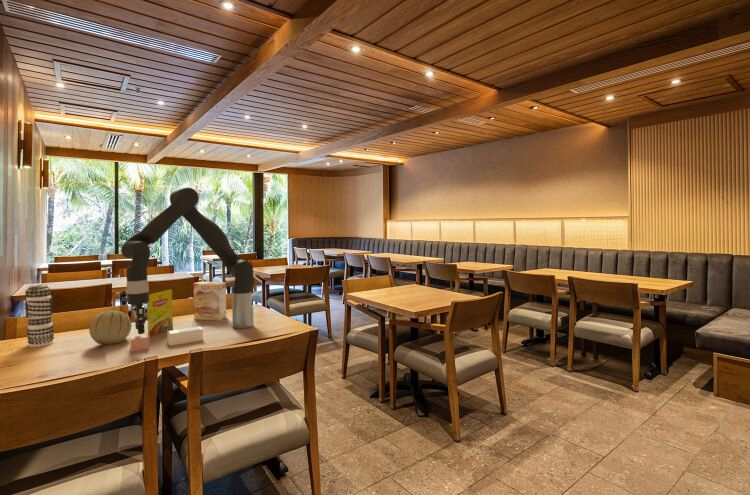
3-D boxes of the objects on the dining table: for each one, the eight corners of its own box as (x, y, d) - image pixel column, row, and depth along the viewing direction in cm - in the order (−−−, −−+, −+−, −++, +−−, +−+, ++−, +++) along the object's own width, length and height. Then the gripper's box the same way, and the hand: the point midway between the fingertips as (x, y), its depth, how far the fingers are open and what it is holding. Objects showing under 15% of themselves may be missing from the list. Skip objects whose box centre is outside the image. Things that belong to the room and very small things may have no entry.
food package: (149, 340, 170) (147, 295, 169) (147, 339, 171) (145, 295, 169) (173, 330, 185) (172, 289, 184) (171, 330, 186) (170, 289, 184)
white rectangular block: (200, 337, 171) (200, 326, 171) (203, 340, 167) (202, 328, 167) (167, 342, 163) (167, 330, 163) (169, 345, 159) (169, 333, 159)
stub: (147, 345, 159) (147, 333, 159) (149, 348, 155) (148, 336, 155) (130, 348, 156) (130, 336, 155) (131, 351, 152) (131, 339, 151)
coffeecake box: (193, 319, 206) (192, 283, 204) (201, 316, 213) (200, 281, 211) (219, 320, 203) (218, 284, 202) (226, 317, 210) (226, 282, 209)
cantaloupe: (86, 352, 154) (85, 315, 153) (93, 341, 167) (91, 307, 166) (130, 346, 161) (129, 311, 160) (133, 337, 174) (132, 304, 173)
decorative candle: (60, 341, 167) (57, 284, 166) (35, 348, 159) (32, 287, 157) (46, 339, 170) (43, 283, 169) (21, 345, 162) (18, 286, 160)
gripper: (151, 292, 150) (153, 333, 151) (146, 287, 161) (148, 325, 163) (128, 295, 146) (130, 337, 147) (125, 289, 157) (127, 328, 158)
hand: (140, 331), depth 155 cm, fingers open, 8 cm apart
